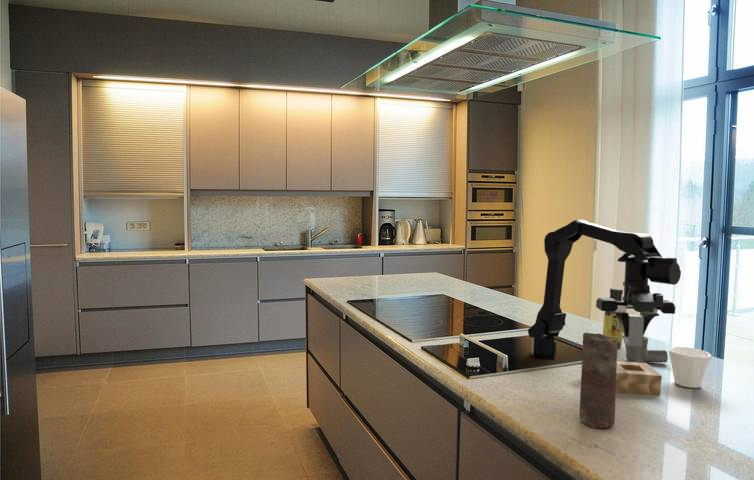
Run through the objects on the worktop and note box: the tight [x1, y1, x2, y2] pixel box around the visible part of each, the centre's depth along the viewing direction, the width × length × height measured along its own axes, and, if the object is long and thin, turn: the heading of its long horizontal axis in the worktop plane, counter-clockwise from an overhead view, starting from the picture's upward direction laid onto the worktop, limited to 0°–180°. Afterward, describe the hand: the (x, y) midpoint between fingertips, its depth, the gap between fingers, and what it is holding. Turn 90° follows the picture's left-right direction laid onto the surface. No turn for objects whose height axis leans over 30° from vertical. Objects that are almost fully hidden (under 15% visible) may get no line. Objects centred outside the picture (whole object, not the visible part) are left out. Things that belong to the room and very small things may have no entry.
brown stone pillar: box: [579, 332, 618, 429], centre depth 120 cm, size 8×7×20 cm
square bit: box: [623, 313, 644, 346], centre depth 146 cm, size 4×4×8 cm
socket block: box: [616, 360, 663, 396], centre depth 145 cm, size 11×11×5 cm
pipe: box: [622, 334, 669, 364], centre depth 168 cm, size 6×13×8 cm, turn 78°
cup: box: [668, 346, 712, 389], centre depth 147 cm, size 10×10×9 cm
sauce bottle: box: [602, 287, 624, 349], centre depth 185 cm, size 6×6×20 cm
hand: (633, 337), depth 147 cm, fingers closed on square bit, 4 cm apart
